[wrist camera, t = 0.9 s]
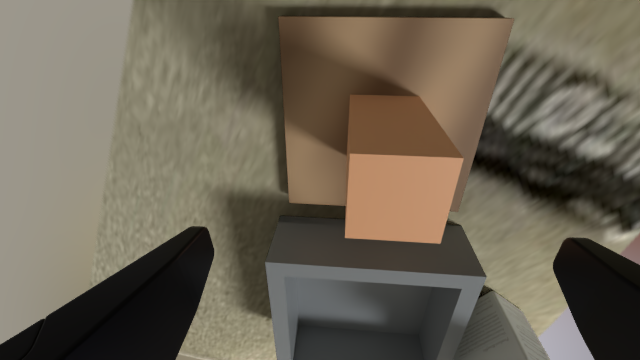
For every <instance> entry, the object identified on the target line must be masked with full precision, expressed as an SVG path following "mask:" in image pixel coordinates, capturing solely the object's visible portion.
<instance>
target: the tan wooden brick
mask: <svg viewBox="0 0 640 360" xmlns="http://www.w3.org/2000/svg"><path fill="white" fill-rule="evenodd" d="M463 159H464V158H463V156H462V155H461V154H460V152H459V151H458V149H457V148H456V147H455V145H454V144H453V142H452V141H451V140H450V138H449V137H448V135H447V134H446V133H445V131H444V130H443V128H442V127H441V126H440V124H439V123H438V121H437V120H436V119H435V117H434V116H433V115H432V113H431V112H430V110H429V109H428V108H427V106H426V105H425V103H424V102H423V101H422V99H421V98H420V96H386V95H350V105H349V123H348V142H347V166H346V210H345V238H354V239H371V240H387V241H404V242H421V243H437V244H440V243H441V240H442V236H443V233H444V229H445V225H446V222H447V218H448V214H449V211H450V207H451V203H452V200H453V196H454V192H455V189H456V185H457V181H458V178H459V174H460V170H461V167H462V163H463Z"/></svg>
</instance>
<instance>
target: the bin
mask: <svg viewBox="0 0 640 360" xmlns="http://www.w3.org/2000/svg"><path fill="white" fill-rule="evenodd" d="M265 266H266V274H267V282H268V290H269V298H270V307H271V315H272V323H273V331H274V339H275V347H276V355H277V360H453V359H454V356H455V354H456V351H457V349H458V346H459V344H460V341H461V339H462V336H463V334H464V332H465V329H466V327H467V324H468V322H469V319H470V317H471V314H472V312H473V309H474V307H475V304H476V302H477V300H478V297H479V295H480V292H481V290H482V287H483V285H484V282H485V280H486V275H485V273H484V271H483V269H482V267H481V265H480V263H479V261H478V259H477V256H476V254H475V252H474V250H473V248H472V246H471V244H470V242H469V240H468V238H467V236H466V234H465V232H464V230H463V228H462V226H456V225H445V229H444V233H443V236H442V240H441V243H440V244H437V243H421V242H404V241H387V240H371V239H354V238H345V219H331V218H313V217H295V216H280V218H279V221H278V224H277V227H276V230H275V233H274V236H273V239H272V242H271V245H270V249H269V252H268V255H267V258H266V261H265Z"/></svg>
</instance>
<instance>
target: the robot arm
mask: <svg viewBox="0 0 640 360" xmlns="http://www.w3.org/2000/svg"><path fill="white" fill-rule="evenodd" d="M213 258H214V248H213V244H212V241H211V237H210V234H209V231H208V229H207V228H206V227H200V226H192V227H189V228H187V229H186V230H184V231H183V232H181V233H179V234H178V235H176V236H175V237H173V238H171V239H170V240H168V241H167V242H165V243H163V244H162V245H160V246H159V247H157V248H155V249H154V250H152V251H151V252H149V253H147V254H146V255H144V256H143V257H141V258H139V259H138V260H136V261H134V262H133V263H131V264H130V265H128V266H126V267H125V268H123V269H122V270H120V271H118V272H117V273H115V274H114V275H112V276H110V277H109V278H107V279H106V280H104V281H102V282H101V283H99V284H98V285H96V286H94V287H93V288H91V289H89V290H88V291H86V292H85V293H83V294H82V295H80V296H78V297H77V298H75V299H74V300H72V301H70V302H69V303H67V304H65V305H64V306H62V307H61V308H59V309H57V310H56V311H54V312H52V313H51V314H49V315H48V316H47V317H46V318H45V319H41V320H40V321H38V322H36V323H35V324H33V325H32V326H30V327H28V328H27V329H25V330H24V331H22V332H20V333H19V334H17V335H15V336H14V337H12V338H10V339H9V340H7V341H5V342H4V343H2V344H0V360H175V359H176V357H177V355H178V353H179V350H180V348H181V346H182V344H183V341H184V339H185V337H186V334H187V332H188V330H189V328H190V325H191V323H192V321H193V318H194V316H195V313H196V311H197V308H198V305H199V302H200V299H201V296H202V293H203V290H204V287H205V283H206V280H207V277H208V274H209V271H210V268H211V264H212V261H213ZM553 270H554V273H555V276H556V278H557V280H558V283H559V285H560V287H561V290H562V292H563V294H564V297H565V299H566V302H567V304H568V306H569V309H570V311H571V313H572V316H573V318H574V320H575V323H576V325H577V327H578V329H579V331H580V333H581V335H582V337H583V339H584V341H585V343H586V345H587V347H588V348H589V350H590V352H591V354H592V356H593V358H594V359H595V360H640V265H639V264H636V263H635V262H633V261H631V260H629V259H627V258H625V257H623V256H621V255H619V254H617V253H615V252H613V251H612V250H610V249H608V248H606V247H604V246H602V245H600V244H598V243H596V242H594V241H592V240H590V239H587V238H567V239H565V240H564V241H563V243H562V245H561V247H560V249H559V251H558V253H557V255H556V257H555V259H554V262H553Z"/></svg>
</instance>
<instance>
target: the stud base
mask: <svg viewBox="0 0 640 360" xmlns="http://www.w3.org/2000/svg"><path fill="white" fill-rule="evenodd" d="M278 19H279V37H280V54H281V71H282V88H283V105H284V122H285V139H286V156H287V173H288V190H289V203H301V204H320V205H339V206H346V166H347V142H348V123H349V105H350V95H386V96H420V98H421V99H422V101H423V102H424V103H425V105H426V106H427V108H428V109H429V110H430V112H431V113H432V115H433V116H434V117H435V119H436V120H437V121H438V123H439V124H440V126H441V127H442V128H443V130H444V131H445V133H446V134H447V135H448V137H449V138H450V140H451V141H452V142H453V144H454V145H455V147H456V148H457V149H458V151H459V152H460V154H461V155H462V156H463V158H464V159H463V163H462V167H461V170H460V174H459V178H458V181H457V185H456V189H455V192H454V196H453V200H452V203H451V207H450V211H453V212H458V210H459V207H460V203H461V200H462V197H463V193H464V190H465V186H466V183H467V180H468V176H469V173H470V169H471V166H472V162H473V159H474V156H475V152H476V149H477V145H478V142H479V138H480V135H481V132H482V128H483V125H484V121H485V118H486V114H487V111H488V108H489V104H490V101H491V97H492V94H493V90H494V87H495V84H496V80H497V77H498V73H499V70H500V67H501V63H502V60H503V56H504V53H505V49H506V46H507V43H508V39H509V36H510V32H511V29H512V25H513V22H514V19H513V18H481V17H357V16H279V17H278Z"/></svg>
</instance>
